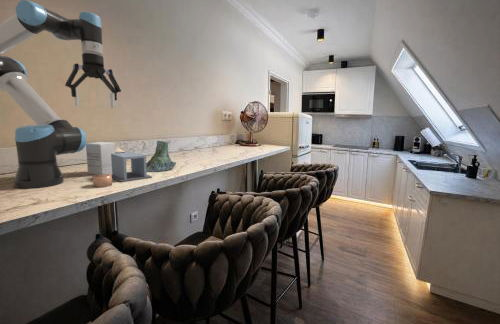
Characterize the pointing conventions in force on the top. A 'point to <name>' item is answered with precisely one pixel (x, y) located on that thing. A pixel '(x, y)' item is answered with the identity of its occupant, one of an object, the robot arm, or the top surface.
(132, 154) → the blue-grey hollow block
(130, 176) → the mat
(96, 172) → the supplement box
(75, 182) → the top surface
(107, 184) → the bowl
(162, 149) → the tree stump
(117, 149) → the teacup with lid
